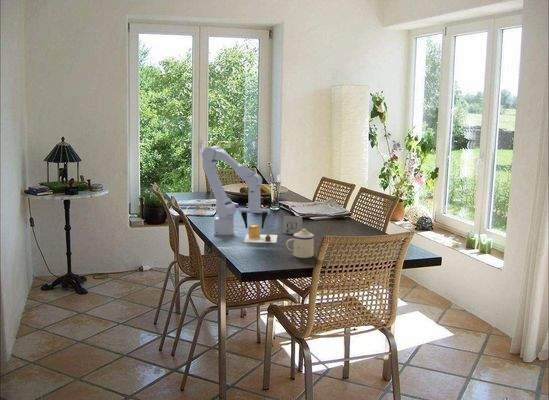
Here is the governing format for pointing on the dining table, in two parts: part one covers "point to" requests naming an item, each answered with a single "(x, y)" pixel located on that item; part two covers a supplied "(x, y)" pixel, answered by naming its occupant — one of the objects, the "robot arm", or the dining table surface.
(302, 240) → the teacup with lid
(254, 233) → the orange cube
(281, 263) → the dining table surface
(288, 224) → the electrical switch
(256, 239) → the cover plate
